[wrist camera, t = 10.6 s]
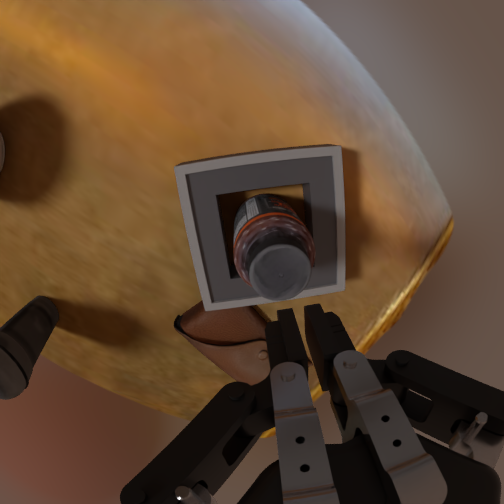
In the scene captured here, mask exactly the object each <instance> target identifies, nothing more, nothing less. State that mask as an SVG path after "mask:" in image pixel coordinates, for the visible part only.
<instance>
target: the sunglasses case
mask: <svg viewBox="0 0 504 504" xmlns="http://www.w3.org/2000/svg"><path fill="white" fill-rule="evenodd" d="M266 325H267V322H266V321H265V320H264V319H263V318H262V317H261V316H260V315H259V314H258V313H257V312H256V310H254V309H253V307H252V306H251V305H250V306H243V307H235V308H228V309H220V310H212V311H205V308H204V304H203V300H202V301H201V302H199V303H198V304H196V305H195V306H193V307H192V308H191V309H189V310H188V311H186V312H185V313H183V315H182V316H180V315H178V316H177V317H176V319H175V321H174V328H175V330H176V331H177V332H178V333H180V334H181V335H183V336H184V337H185V338H186V339H187V340H188V341H189V342H190V343H191V344H192V345H193V346H194V347H195V348H197V349H198V350H199V351H200V352H201V353H202V354H203V355H204V356H206V357H207V358H208V359H209V360H211V361H212V362H213V363H214V364H216V365H217V366H218V367H219V368H221V369H222V370H223V371H225V372H226V373H227V374H228V375H230V376H231V377H232V378H234V379H235V380H236V381H238V382H245V383H248V384H249V385H251V386H252V385H254V384H257V383H259V382H261V381H263V380H264V379H265V378H266V377H267V376H268V375H269V373H270V365H269V358H268V351H267V344H266V337H265V328H266ZM312 365H313V364H312V362H311V361H310V360H308V367H309V366H312Z"/></svg>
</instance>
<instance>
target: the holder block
mask: <svg viewBox="0 0 504 504" xmlns="http://www.w3.org/2000/svg"><path fill="white" fill-rule="evenodd" d="M174 170H175V176H176V181H177V186H178V192H179V197H180V202H181V207H182V212H183V217H184V222H185V226H186V231H187V236H188V241H189V245H190V250H191V254H192V258H193V263H194V267H195V271H196V276H197V280H198V284H199V288H200V292H201V296H202V300H203V304H204V308H205V311H212V310H220V309H228V308H235V307H243V306H250V305H257V304H264V303H271V302H278V301H272V300H269V299H266V298H263V297H262V296H260V295H259V294H258V293H257V292H256V291H255V290H254V289H253V288H252V287H251V286H249V285H248V284H247V283H245V282H244V281H243V279H242V278H241V277H240V275H239V274H238V272H237V270H236V267H235V265H230V259H229V253H228V248H227V242H226V236H225V230H224V224H223V218H222V212H221V206H220V200H219V194H225V193H232V192H239V191H246V190H253V189H261V188H268V187H276V186H284V185H293V184H302V185H303V196H304V208H305V222H306V227H307V229H308V231H309V232H310V234H311V236H312V238H313V240H314V245H315V251H316V254H315V261H314V265H313V267H312V273H311V278H310V281H309V283H308V285H307V286H306V288H305V289H304V290H303V291H302V292H301V293H299V294H298V295H297V296H295V297H293V298H290V299H287V300H291V299H297V298H303V297H309V296H315V295H321V294H327V293H332V292H338V291H343V290H345V201H344V180H343V164H342V151H341V146H339V145H332V144H323V145H309V146H298V147H287V148H277V149H268V150H260V151H252V152H244V153H237V154H230V155H224V156H217V157H211V158H205V159H199V160H194V161H188V162H183V163H180V164H178V165H176V166H175V167H174ZM283 301H284V300H283Z"/></svg>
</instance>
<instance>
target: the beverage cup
mask: <svg viewBox="0 0 504 504" xmlns="http://www.w3.org/2000/svg"><path fill="white" fill-rule="evenodd" d="M58 319H59V314H58V310H57V308H56V306H55V305H54V304H53V302H52V301H50V300H49V299H48V298H46V297H44V296H37V297H36V298H34V299H33V300H32V301H30V302H29V303H28V304H27V305H25V306H24V307H23V308H22V309H21V310H20V311H18V312H17V313H16V314H15V315H14V316H13V317H12V318H11V319H9V320H8V321H7V322H6V323H5V324H4V325H3V326H2V327H1V328H0V399H5V400H6V399H11V398H14V397H16V396H18V395H20V394H21V393H22V392H23V390H24V389H26V388H27V386H28V384H29V379H30V377H31V374H32V371H33V367H34V365H35V363H36V361H37V359H38V357H39V355H40V353H41V351H42V349H43V347H44V346H45V344H46V342H47V340H48V338H49V336H50V335H51V333H52V331H53V329H54V327H55V325H56V323H57V321H58Z"/></svg>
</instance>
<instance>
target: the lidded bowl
mask: <svg viewBox="0 0 504 504" xmlns="http://www.w3.org/2000/svg"><path fill="white" fill-rule="evenodd" d="M4 159H5V144H4V140H3V136H2V134H1V132H0V172H1V170H2V168H3V164H4Z"/></svg>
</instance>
